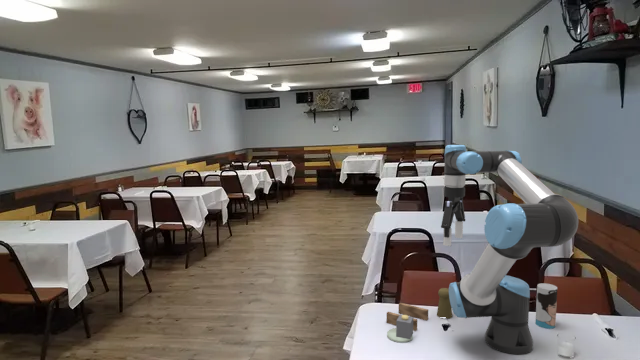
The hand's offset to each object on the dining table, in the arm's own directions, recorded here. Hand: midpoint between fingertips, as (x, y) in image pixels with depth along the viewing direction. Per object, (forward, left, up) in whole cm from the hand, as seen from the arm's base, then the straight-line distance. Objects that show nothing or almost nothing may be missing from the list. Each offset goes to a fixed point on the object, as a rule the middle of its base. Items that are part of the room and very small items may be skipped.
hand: (453, 241), depth 161 cm
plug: (+9, +22, -31) cm, 39 cm away
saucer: (+11, +23, -32) cm, 40 cm away
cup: (-30, -17, -32) cm, 47 cm away
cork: (+4, -3, -32) cm, 32 cm away
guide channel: (+14, +10, -32) cm, 36 cm away
